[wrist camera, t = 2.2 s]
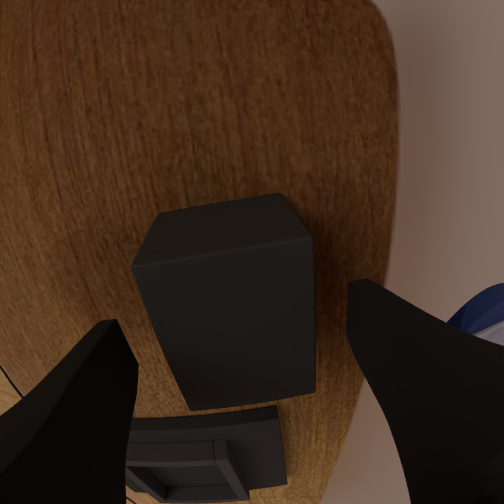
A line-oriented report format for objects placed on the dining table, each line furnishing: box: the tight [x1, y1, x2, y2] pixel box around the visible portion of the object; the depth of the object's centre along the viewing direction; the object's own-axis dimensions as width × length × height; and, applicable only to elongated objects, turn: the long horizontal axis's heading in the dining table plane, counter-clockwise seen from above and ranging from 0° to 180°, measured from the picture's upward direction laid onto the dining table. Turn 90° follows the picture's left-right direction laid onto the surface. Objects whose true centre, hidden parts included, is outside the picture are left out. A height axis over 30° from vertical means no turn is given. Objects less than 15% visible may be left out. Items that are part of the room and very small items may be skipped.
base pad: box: [125, 406, 288, 503], centre depth 17 cm, size 14×12×2 cm
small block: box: [131, 193, 316, 411], centre depth 10 cm, size 4×6×4 cm
